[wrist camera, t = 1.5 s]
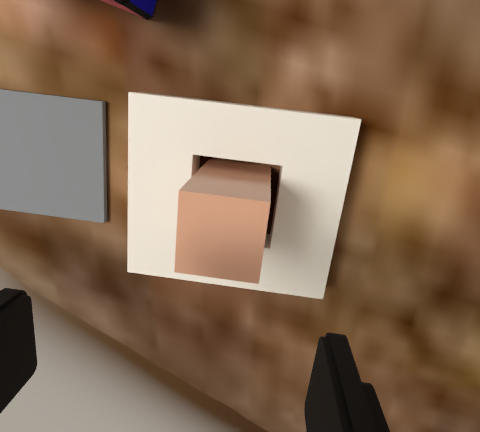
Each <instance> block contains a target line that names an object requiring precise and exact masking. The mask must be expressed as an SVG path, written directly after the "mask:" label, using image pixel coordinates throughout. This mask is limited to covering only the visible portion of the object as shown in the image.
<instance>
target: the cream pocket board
mask: <svg viewBox="0 0 480 432" xmlns="http://www.w3.org/2000/svg"><path fill="white" fill-rule="evenodd" d="M361 120H362V119H358V118H354V117H348V116H340V115H331V114H323V113H314V112H306V111H297V110H289V109H280V108H272V107H263V106H255V105H246V104H238V103H229V102H221V101H212V100H204V99H195V98H187V97H178V96H170V95H161V94H153V93H144V92H129V105H128V272H132V273H139V274H146V275H153V276H161V277H168V278H175V279H182V280H189V281H196V282H203V283H210V284H218V285H225V286H232V287H239V288H246V289H253V290H260V291H267V292H275V293H282V294H289V295H296V296H303V297H310V298H317V299H323V296H324V292H325V287H326V282H327V278H328V273H329V268H330V264H331V259H332V255H333V250H334V245H335V241H336V236H337V231H338V227H339V222H340V217H341V213H342V208H343V203H344V199H345V194H346V189H347V185H348V180H349V175H350V171H351V166H352V161H353V157H354V152H355V147H356V143H357V138H358V134H359V129H360V124H361ZM200 155H201V156H209V157H217V158H225V159H233V160H241V161H249V162H257V163H265V164H273V165H281V166H280V173H279V180H278V186H277V193H276V200H275V207H274V213H273V220H272V227H271V234H266V238H265V245H264V252H263V259H262V266H261V273H260V279H259V284H255V283H248V282H241V281H233V280H226V279H219V278H212V277H205V276H197V275H190V274H183V273H176V272H174V268H175V250H176V231H177V213H178V195H179V190H180V189H181V187H182V186H183V185H184V184H185V183H186V182H187V181H188V180H189V179H190V178H191V177H192V176H193V175H194V174H195V173H196V172H197V171H198V170H199V164H200Z"/></svg>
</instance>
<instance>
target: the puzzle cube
mask: <svg viewBox="0 0 480 432" xmlns="http://www.w3.org/2000/svg"><path fill="white" fill-rule="evenodd" d="M100 1H103V2H105V3H108V4H110V5H112V6H115V7H117V8H120V9H122V10H124V11H127V12H129V13H132V14H134V15H137V16H139V17H141V18H144V19H146V20H148V19H149V18H151V17H152V16H153V13H154V9H155V5H156V1H157V0H100Z"/></svg>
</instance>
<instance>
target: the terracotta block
mask: <svg viewBox="0 0 480 432" xmlns="http://www.w3.org/2000/svg"><path fill="white" fill-rule="evenodd" d="M270 203H271V167H269V166H261V165H253V164H245V163H237V162H229V161H221V160H213V159H209V160H208V161H207V162H206V163H205V164H204V165H203V166H202V167H201V168H200V169H199V170H198V171H197V172H196V173H195V174H194V175H193V176H192V177H191V178H190V179H189V180H188V181H187V182H186V183H185V184H184V185H183V186H182V187H181V189H180V190H179V195H178V213H177V231H176V250H175V268H174V272H176V273H183V274H190V275H197V276H205V277H212V278H219V279H226V280H233V281H241V282H248V283H255V284H259V279H260V273H261V266H262V259H263V252H264V245H265V238H266V231H267V224H268V217H269V210H270Z"/></svg>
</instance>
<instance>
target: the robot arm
mask: <svg viewBox="0 0 480 432" xmlns="http://www.w3.org/2000/svg"><path fill="white" fill-rule="evenodd" d="M36 367H37V356H36V345H35V335H34V324H33V313H32V303H31V298H30V296H27V293H26V292H25V291H23V290H17V289H9V288H4V289H3V290H1V291H0V413H1V412H2V411H3V410H4V409H5V407H6V406H7V405H8V404H9V402H10V401H11V400H12V399H13V398H14V397H15V395H16V394H17V393H18V392H19V391H20V389H21V388H22V387H23V386H24V385H25V384H26V382H27V381H28V380H29V379H30V378H31V376H32V375H33V374H34V372H35V370H36ZM305 421H306V430H307V432H390V431H389V428H388V425H387V423H386V420H385V417H384V414H383V412H382V409H381V406H380V403H379V401H378V398H377V395H376V392H375V390H374V388H373V386H372V385H371V384H370V383H364V382H361V379H360V376H359V373H358V370H357V367H356V364H355V361H354V358H353V355H352V352H351V349H350V346H349V343H348V340H347V337H346V335H342V334H334V333H327V334H326V336H325V337H320V338H319V342H318V346H317V351H316V355H315V360H314V364H313V369H312V374H311V378H310V383H309V387H308V392H307V396H306V401H305Z"/></svg>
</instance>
